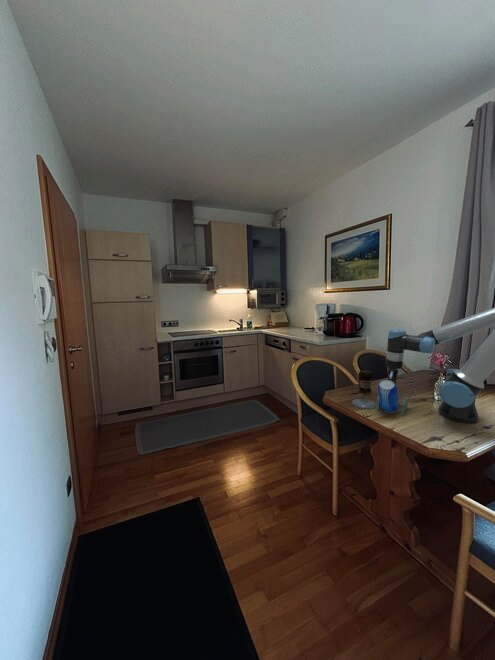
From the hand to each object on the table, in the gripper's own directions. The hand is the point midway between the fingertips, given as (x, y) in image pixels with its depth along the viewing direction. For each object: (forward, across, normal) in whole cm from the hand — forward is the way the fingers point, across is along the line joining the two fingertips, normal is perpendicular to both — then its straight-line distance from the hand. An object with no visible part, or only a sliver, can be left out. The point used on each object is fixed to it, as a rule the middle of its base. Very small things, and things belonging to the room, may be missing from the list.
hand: (390, 402), depth 136 cm
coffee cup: (+4, -15, -16) cm, 23 cm away
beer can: (+1, +4, +1) cm, 4 cm away
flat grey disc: (+3, +4, -12) cm, 13 cm away
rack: (+3, +1, +1) cm, 3 cm away
